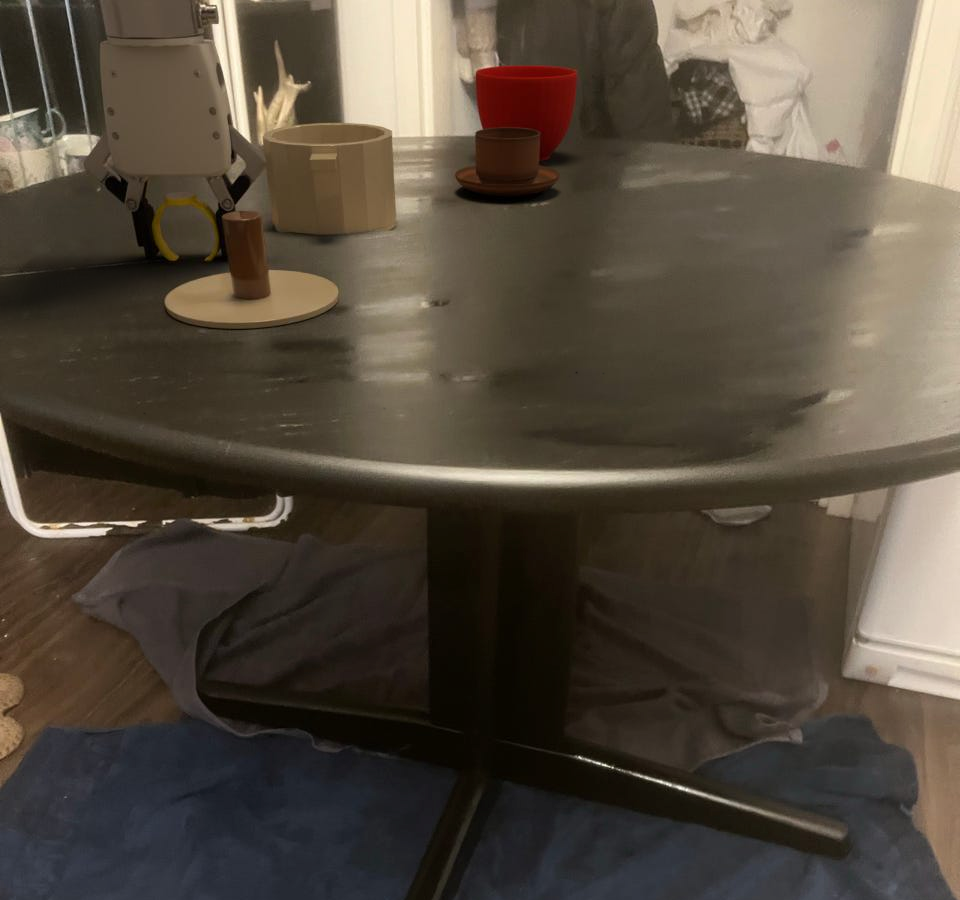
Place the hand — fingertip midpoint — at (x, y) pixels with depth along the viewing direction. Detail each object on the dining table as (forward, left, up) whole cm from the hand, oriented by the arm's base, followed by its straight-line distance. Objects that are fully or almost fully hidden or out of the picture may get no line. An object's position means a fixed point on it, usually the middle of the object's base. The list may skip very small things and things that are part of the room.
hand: (190, 252), depth 89 cm
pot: (+12, +14, -1) cm, 19 cm away
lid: (+7, -13, 0) cm, 15 cm away
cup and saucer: (+31, +28, -1) cm, 42 cm away
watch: (0, 0, -1) cm, 1 cm away
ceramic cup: (+35, +50, -1) cm, 61 cm away
